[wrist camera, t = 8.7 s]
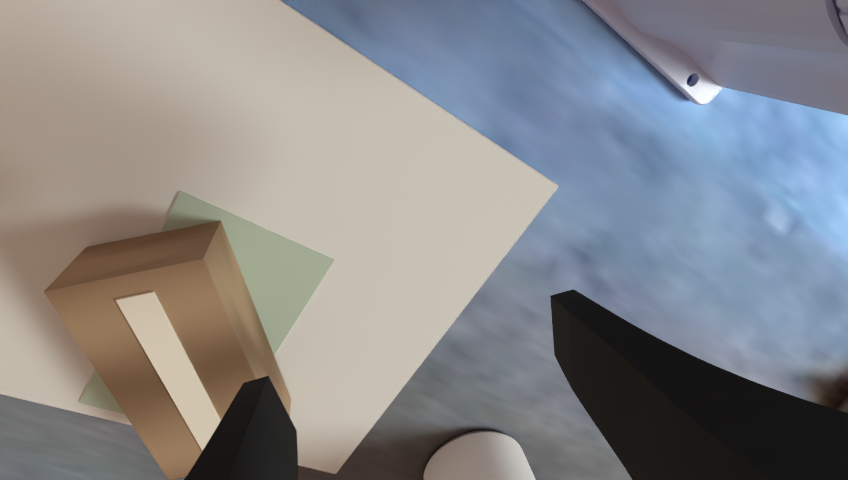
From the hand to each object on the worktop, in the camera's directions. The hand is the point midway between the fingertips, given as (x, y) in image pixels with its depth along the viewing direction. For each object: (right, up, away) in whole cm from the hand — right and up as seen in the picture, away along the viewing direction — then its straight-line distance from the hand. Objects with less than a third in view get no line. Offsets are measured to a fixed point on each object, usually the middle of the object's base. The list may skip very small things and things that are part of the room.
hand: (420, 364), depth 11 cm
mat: (-8, +2, +8) cm, 11 cm away
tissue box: (-10, -1, +9) cm, 13 cm away
